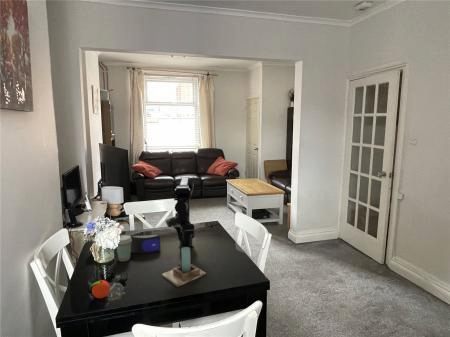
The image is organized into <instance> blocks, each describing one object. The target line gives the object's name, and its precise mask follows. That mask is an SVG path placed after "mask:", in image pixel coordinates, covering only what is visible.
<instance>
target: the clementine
mask: <svg viewBox="0 0 450 337" xmlns="http://www.w3.org/2000/svg"><path fill="white" fill-rule="evenodd" d="M91 287H92V288H91ZM90 289H91V292H92V296H93V297H95V298H97V299H103V298H105V297H107V296H108V294H109V293H110V290H111V285H110V283H109V282H108V281H107V280H103V279H102V280H98V281H95V282H93V283H92V284H91V285H90V286H89V290H90Z"/></svg>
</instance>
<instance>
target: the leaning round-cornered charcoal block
mask: <svg viewBox="0 0 450 337" xmlns="http://www.w3.org/2000/svg"><path fill="white" fill-rule="evenodd" d="M131 238H132V241H131V252H132V253H134V254H138V255H139V254H140V255H141V254H144V255H145V254H152V253H157V252H159V251H160V250H161V248H162V247H161V236H160V235H159V234H150V235H149V234H148V235H133V236H131Z"/></svg>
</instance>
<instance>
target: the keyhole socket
mask: <svg viewBox="0 0 450 337" xmlns="http://www.w3.org/2000/svg"><path fill="white" fill-rule="evenodd" d="M190 269H191V271H189V272H187V273H183V272H182V264H181V265H178V266H176V267H173V268H172V269H171V270H169V271H166V272H163V273H162V274H161V276H162V277H163V278H165V279H166V280H168V281H169V283H171V284H172V285H174V286H175V287H177V288H179V287H180V286H183V285H185V284H188V283H190V282H192V281H194V280H196V279H199V278H201V277H203V276H206V275H207V274H206V272H205V271H204V270H202V269H201V268H199V267H197V266H195V265H194V264H192V263H191V262H190Z"/></svg>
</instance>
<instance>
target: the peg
mask: <svg viewBox="0 0 450 337" xmlns="http://www.w3.org/2000/svg"><path fill="white" fill-rule="evenodd" d="M180 249H181V250H180V251H181V265H182V272H183V273H187V272H189V271H191V269H190V263H191V248H189V247H183V248H180Z"/></svg>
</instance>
